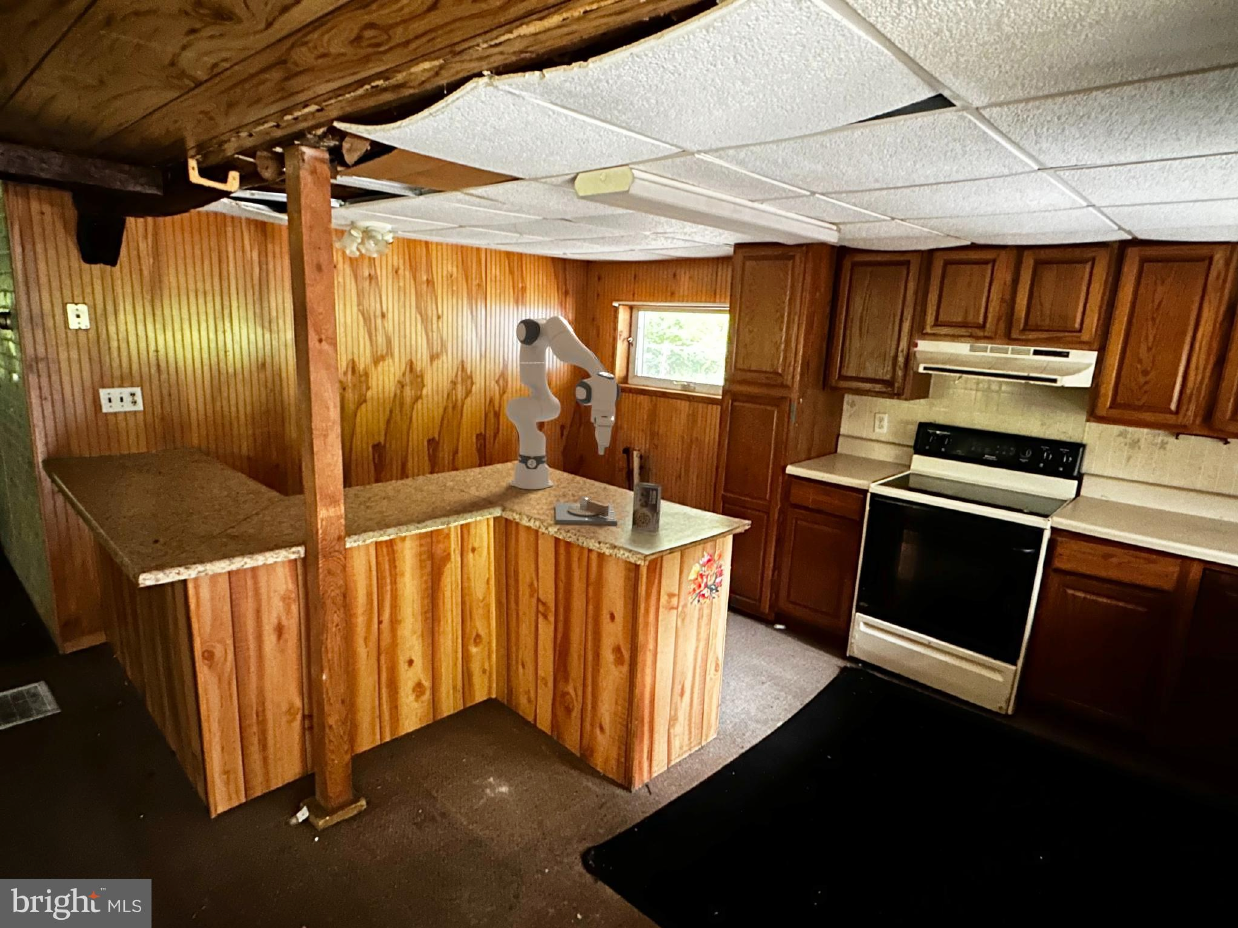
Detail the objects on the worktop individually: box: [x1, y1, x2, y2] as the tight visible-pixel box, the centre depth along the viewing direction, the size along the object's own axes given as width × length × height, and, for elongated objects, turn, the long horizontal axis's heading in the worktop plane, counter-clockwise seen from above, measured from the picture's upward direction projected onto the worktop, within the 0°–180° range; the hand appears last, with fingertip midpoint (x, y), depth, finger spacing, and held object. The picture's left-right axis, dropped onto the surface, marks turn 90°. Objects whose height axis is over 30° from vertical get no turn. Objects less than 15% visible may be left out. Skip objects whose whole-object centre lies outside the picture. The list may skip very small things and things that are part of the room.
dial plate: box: [554, 502, 618, 526], centre depth 246 cm, size 22×22×2 cm
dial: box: [568, 496, 609, 517], centre depth 244 cm, size 18×13×5 cm
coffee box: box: [631, 481, 663, 533], centre depth 233 cm, size 9×6×16 cm
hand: (600, 454), depth 244 cm, fingers closed
